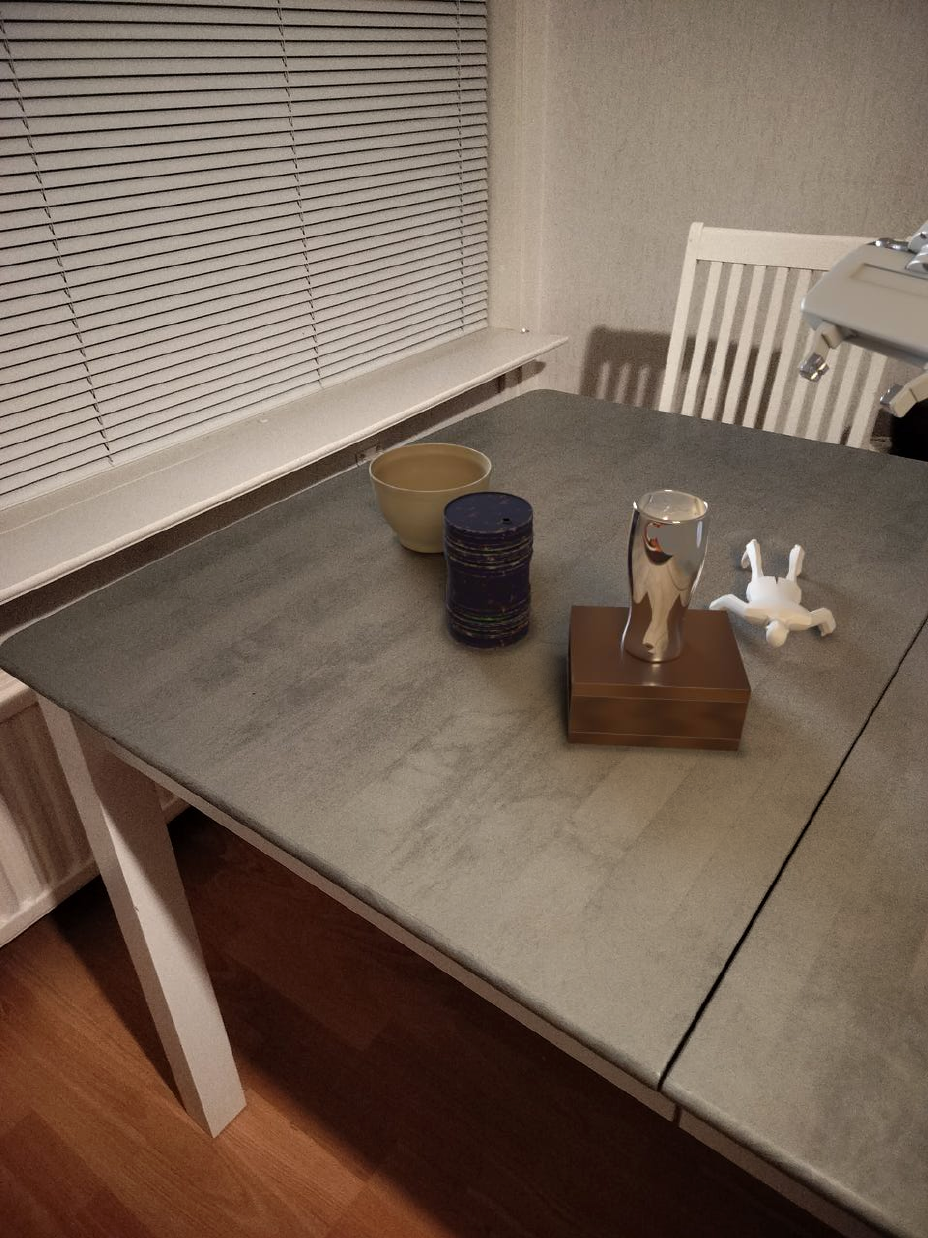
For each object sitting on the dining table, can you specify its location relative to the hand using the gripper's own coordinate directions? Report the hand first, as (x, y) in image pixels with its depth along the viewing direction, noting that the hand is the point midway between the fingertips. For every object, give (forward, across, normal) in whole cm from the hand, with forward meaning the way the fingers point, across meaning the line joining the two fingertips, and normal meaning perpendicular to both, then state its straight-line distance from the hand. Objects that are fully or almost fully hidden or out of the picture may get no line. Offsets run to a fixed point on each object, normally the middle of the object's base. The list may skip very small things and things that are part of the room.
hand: (844, 392), depth 69 cm
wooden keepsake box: (+32, -3, +13) cm, 34 cm away
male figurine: (+17, -10, +28) cm, 34 cm away
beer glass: (+27, -3, +7) cm, 28 cm away
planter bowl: (+37, -45, +8) cm, 59 cm away
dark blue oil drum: (+38, -22, +6) cm, 45 cm away
